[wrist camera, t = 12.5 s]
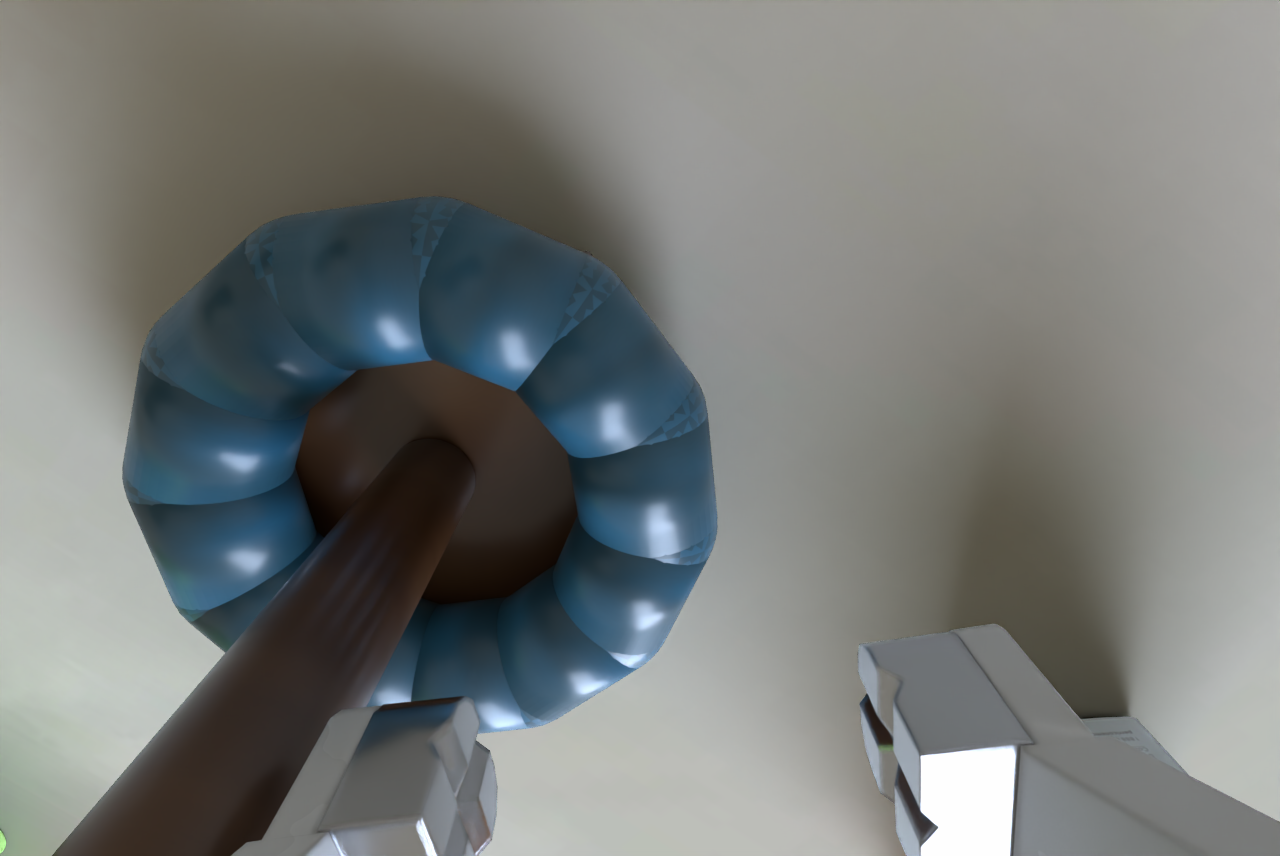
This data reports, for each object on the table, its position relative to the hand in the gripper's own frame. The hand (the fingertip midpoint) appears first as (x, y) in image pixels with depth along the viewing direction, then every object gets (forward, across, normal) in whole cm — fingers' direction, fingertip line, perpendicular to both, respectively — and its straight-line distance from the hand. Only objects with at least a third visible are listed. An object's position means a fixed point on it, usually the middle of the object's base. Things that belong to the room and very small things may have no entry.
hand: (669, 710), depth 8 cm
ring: (+7, +5, 0) cm, 8 cm away
